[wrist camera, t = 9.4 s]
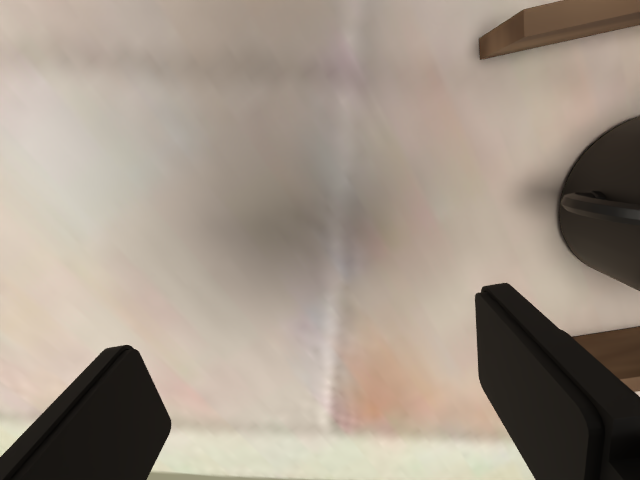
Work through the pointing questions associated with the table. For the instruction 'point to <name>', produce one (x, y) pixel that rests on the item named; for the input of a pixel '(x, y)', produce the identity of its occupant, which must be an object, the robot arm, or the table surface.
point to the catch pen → (553, 27)
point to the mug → (606, 205)
